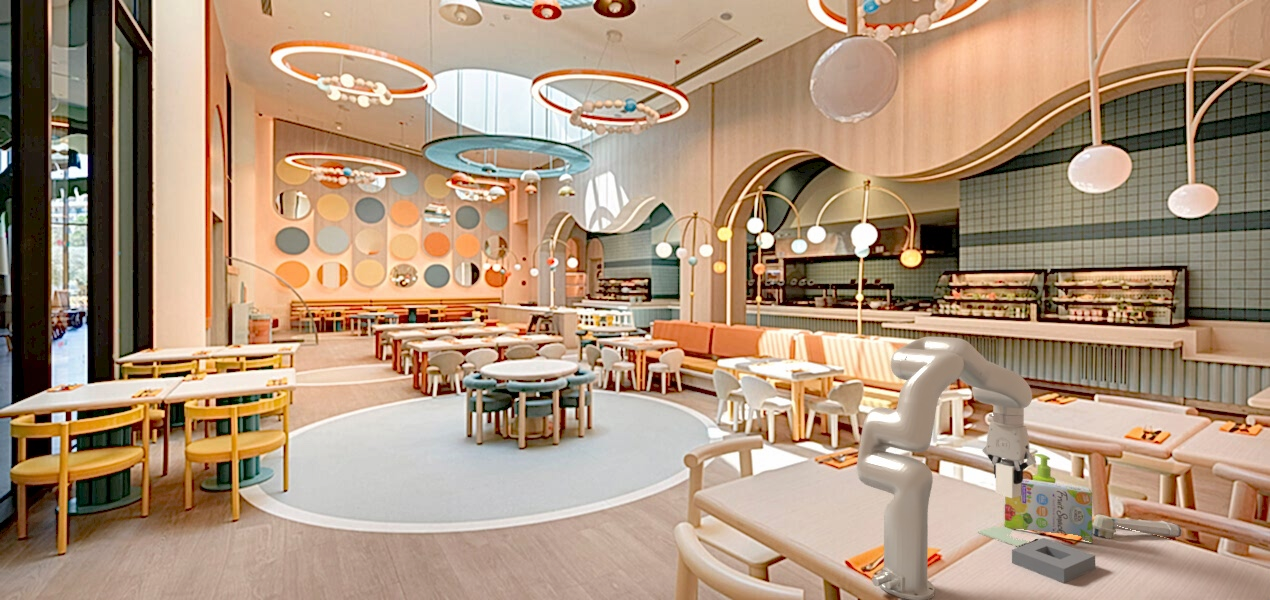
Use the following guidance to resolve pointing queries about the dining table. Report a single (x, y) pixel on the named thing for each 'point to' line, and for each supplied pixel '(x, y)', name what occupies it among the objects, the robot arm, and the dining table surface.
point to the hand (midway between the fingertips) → (1008, 479)
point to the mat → (1002, 535)
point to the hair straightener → (1133, 526)
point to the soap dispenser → (1043, 470)
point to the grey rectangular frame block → (1053, 560)
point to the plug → (1006, 479)
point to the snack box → (1050, 509)
